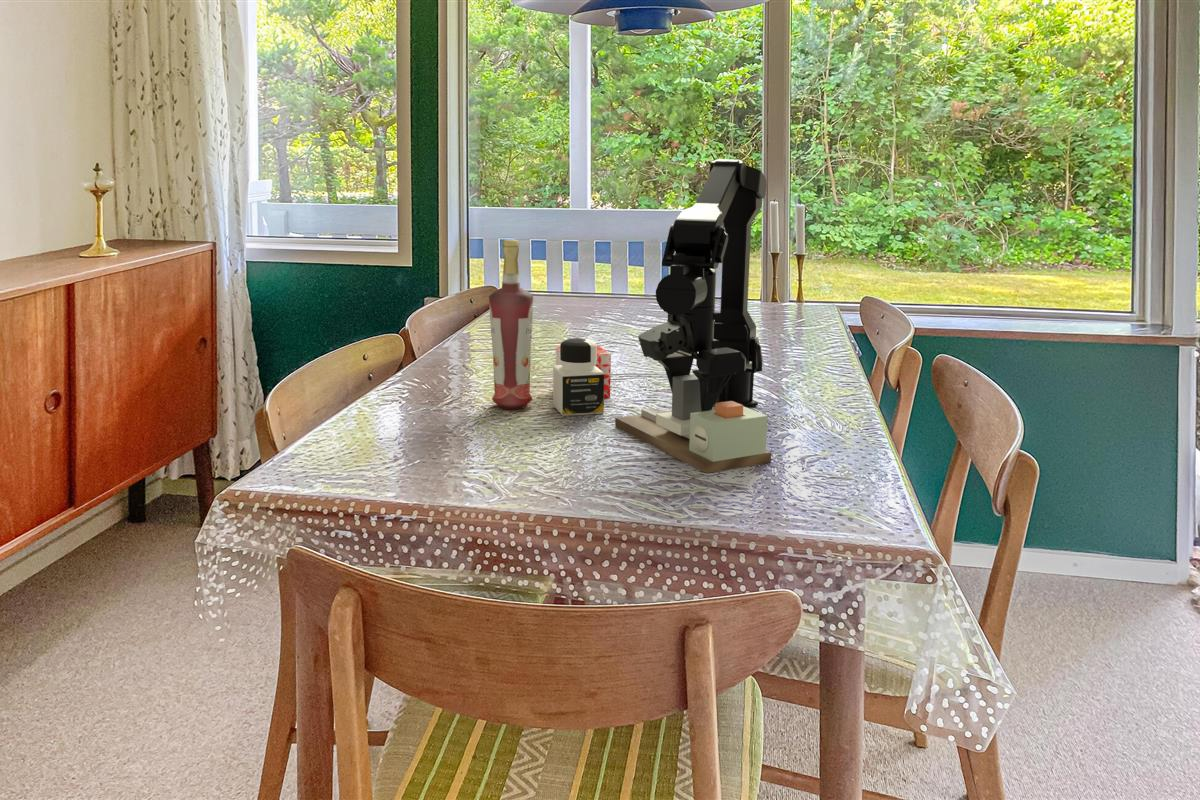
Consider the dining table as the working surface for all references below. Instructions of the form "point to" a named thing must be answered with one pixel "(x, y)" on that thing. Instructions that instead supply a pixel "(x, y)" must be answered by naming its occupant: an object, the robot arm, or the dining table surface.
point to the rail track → (679, 443)
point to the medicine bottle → (578, 379)
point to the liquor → (511, 334)
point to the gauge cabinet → (727, 435)
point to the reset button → (728, 409)
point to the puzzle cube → (598, 366)
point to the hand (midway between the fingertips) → (691, 408)
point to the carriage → (682, 405)
